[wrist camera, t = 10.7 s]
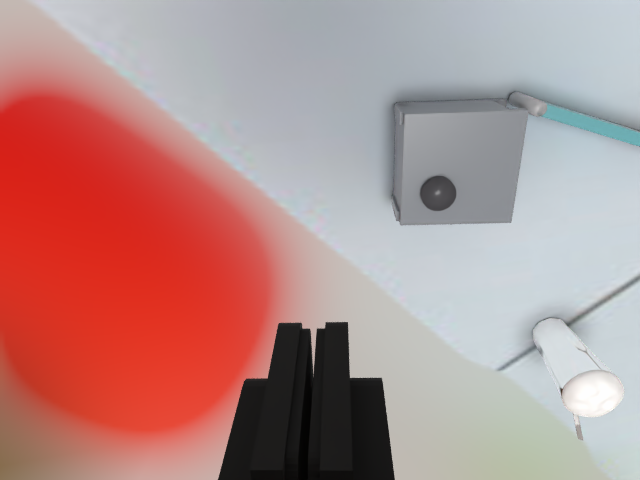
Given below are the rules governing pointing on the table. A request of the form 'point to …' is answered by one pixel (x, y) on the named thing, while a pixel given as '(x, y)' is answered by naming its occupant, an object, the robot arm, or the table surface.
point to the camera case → (456, 161)
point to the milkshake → (577, 372)
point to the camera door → (575, 118)
